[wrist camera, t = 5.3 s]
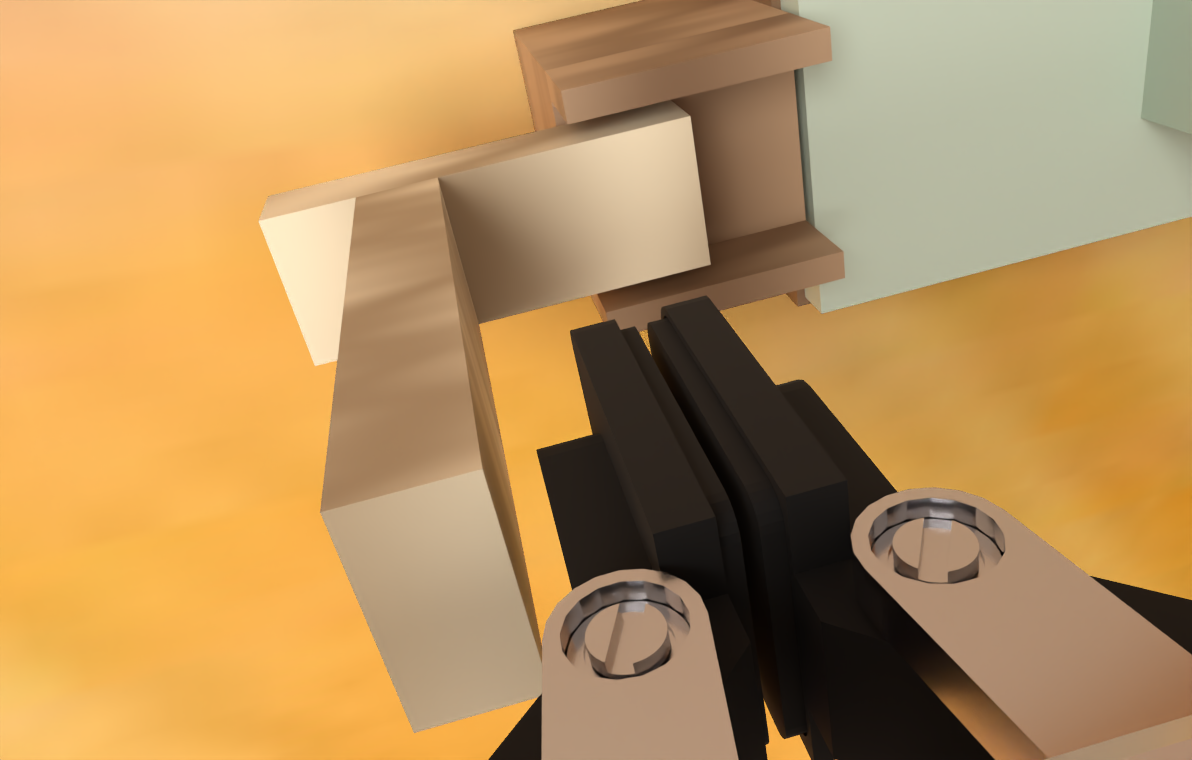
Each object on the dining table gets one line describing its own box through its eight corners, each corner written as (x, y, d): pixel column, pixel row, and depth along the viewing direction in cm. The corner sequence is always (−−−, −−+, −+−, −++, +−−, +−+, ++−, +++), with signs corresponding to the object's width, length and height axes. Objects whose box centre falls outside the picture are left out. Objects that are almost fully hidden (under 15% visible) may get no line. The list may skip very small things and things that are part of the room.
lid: (1392, -232, 20) (1841, -281, 14) (1312, 164, 24) (1626, 262, 18) (772, -91, 19) (957, -75, 12) (805, 297, 23) (954, 449, 17)
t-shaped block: (669, 98, 19) (969, 337, 9) (690, 239, 20) (965, 573, 10) (268, 195, 18) (126, 564, 8) (320, 333, 19) (250, 780, 10)
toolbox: (1234, -226, 23) (1558, -264, 17) (1188, 129, 28) (1430, 206, 21) (493, -58, 22) (536, -31, 15) (570, 287, 26) (627, 420, 20)
